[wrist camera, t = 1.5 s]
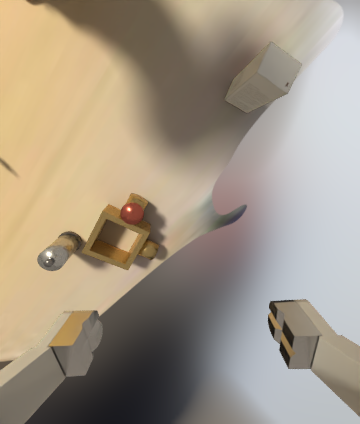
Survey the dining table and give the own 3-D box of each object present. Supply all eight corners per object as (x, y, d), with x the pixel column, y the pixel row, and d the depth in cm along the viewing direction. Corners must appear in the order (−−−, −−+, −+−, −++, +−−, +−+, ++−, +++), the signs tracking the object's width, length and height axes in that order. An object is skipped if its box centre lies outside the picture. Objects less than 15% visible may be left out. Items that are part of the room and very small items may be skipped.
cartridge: (55, 245, 39) (28, 269, 31) (63, 228, 38) (38, 248, 30) (76, 253, 41) (56, 278, 32) (84, 236, 40) (66, 258, 31)
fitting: (89, 241, 40) (78, 256, 34) (118, 184, 37) (112, 190, 31) (144, 263, 44) (143, 280, 38) (174, 214, 41) (178, 224, 35)
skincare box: (256, 93, 36) (304, 64, 25) (246, 114, 37) (288, 95, 25) (232, 77, 34) (271, 39, 23) (223, 99, 35) (256, 73, 24)
